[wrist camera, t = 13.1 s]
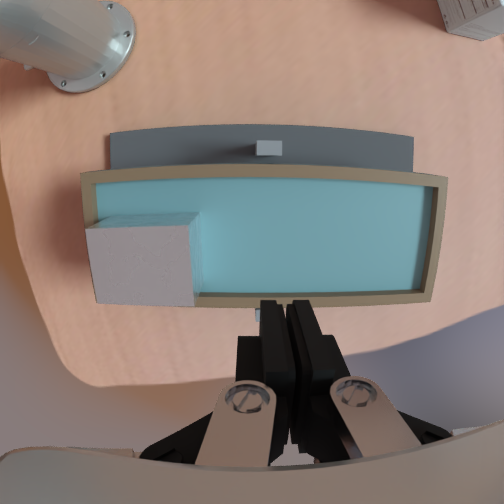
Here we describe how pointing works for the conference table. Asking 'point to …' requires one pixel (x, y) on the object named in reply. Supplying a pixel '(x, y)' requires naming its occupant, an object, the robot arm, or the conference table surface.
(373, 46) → the conference table surface
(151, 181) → the beam
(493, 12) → the supplement box
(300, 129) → the stand
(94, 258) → the steel block
